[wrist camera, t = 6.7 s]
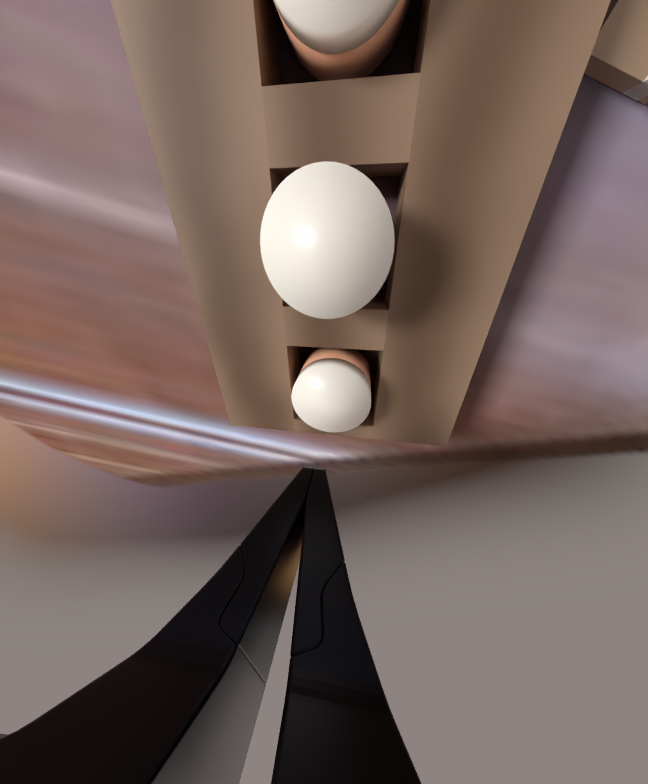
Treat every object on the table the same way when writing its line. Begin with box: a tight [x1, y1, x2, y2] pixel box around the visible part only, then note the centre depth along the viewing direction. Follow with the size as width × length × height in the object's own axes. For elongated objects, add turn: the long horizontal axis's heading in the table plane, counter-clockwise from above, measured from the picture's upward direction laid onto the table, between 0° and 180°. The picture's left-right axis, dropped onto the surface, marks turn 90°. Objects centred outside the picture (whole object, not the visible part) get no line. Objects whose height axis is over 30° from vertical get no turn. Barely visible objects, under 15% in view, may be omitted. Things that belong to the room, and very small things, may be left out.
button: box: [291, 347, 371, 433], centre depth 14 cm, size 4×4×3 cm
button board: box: [111, 0, 611, 446], centre depth 11 cm, size 14×21×2 cm, turn 0°
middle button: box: [260, 161, 395, 319], centre depth 9 cm, size 4×4×3 cm
